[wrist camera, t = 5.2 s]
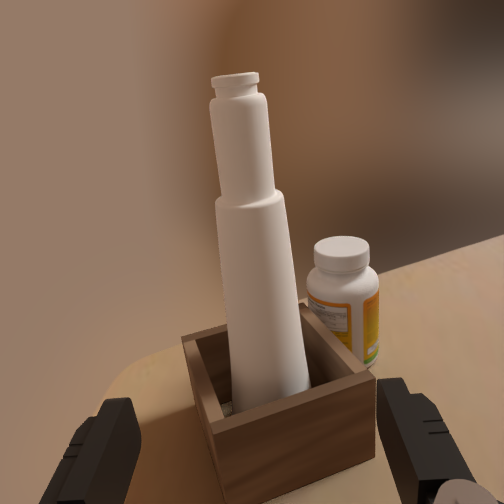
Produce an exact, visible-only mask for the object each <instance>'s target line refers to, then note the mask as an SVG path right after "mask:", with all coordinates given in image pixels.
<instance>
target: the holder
mask: <svg viewBox="0 0 504 504" xmlns="http://www.w3.org/2000/svg"><path fill="white" fill-rule="evenodd" d="M298 306H299V314H300V321H301V329H302V336H303V343H304V350H305V356H306V362H307V367H308V373H309V378H310V382H311V387H312V388H311V389H308V390H305V391H302V392H299V393H296V394H294V395H291V396H288V397H285V398H282V399H279V400H276V401H273V402H270V403H267V404H264V405H261V406H258V407H256V408H253V409H250V410H247V411H244V412H241V413H238V414H235V415H232V416H229V417H226V418H225V417H224V415H223V412H222V410H221V407H220V404H222V403H225V402H228V401H231V400H232V379H231V362H230V350H229V339H228V329H227V324H225V325H221V326H218V327H214V328H211V329H207V330H204V331H200V332H196V333H193V334H189V335H186V336H182V337H181V339H182V344H183V348H184V353H185V358H186V362H187V367H188V372H189V376H190V381H191V386H192V390H193V395H194V400H195V404H196V408H197V411H198V414H199V418H200V421H201V424H202V427H203V431H204V434H205V437H206V440H207V444H208V447H209V450H210V454H211V457H212V460H213V463H214V467H215V470H216V473H217V476H218V480H219V483H220V486H221V490H222V493H223V496H224V499H225V503H226V504H260V503H263V502H265V501H268V500H270V499H273V498H275V497H278V496H280V495H283V494H285V493H287V492H290V491H292V490H295V489H297V488H300V487H302V486H305V485H307V484H310V483H312V482H315V481H317V480H319V479H322V478H324V477H327V476H329V475H332V474H334V473H337V472H339V471H342V470H344V469H347V468H349V467H351V466H354V465H356V464H359V463H361V462H364V461H366V460H369V459H371V458H374V457H375V405H376V378H375V377H374V376H373V375H372V374H371V372H370V371H369V370H368V369H367V368H366V367H365V366H364V365H363V364H362V363H361V362H360V361H359V360H358V359H357V358H356V357H355V356H354V355H353V354H352V353H351V352H350V351H349V350H348V349H347V348H346V347H345V345H344V344H343V343H342V342H341V341H340V340H339V339H338V338H337V337H336V336H335V335H334V334H333V333H332V332H331V331H330V330H329V329H328V328H327V327H326V326H325V325H324V324H323V323H322V322H321V321H320V319H319V318H318V317H317V316H316V315H315V314H314V313H313V312H312V311H311V310H310V309H309V308H308V307H307V306H306V305H305V304H304V303H299V304H298Z"/></svg>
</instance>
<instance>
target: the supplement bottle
mask: <svg viewBox="0 0 504 504" xmlns="http://www.w3.org/2000/svg"><path fill="white" fill-rule="evenodd" d="M369 259H370V256H369V245H368V243H367V242H366V241H365V240H363V239H360V238H357V237H351V236H338V237H330V238H326V239H323V240H321V241H319V242H318V243H317V244H315V246H314V262H315V266H316V267H315V268H314V269H312V270H311V272H310V273H309V275H308V277H307V295H308V308H309V309H310V310H311V311H312V312H313V313H314V314H315V315H316V316H317V317H318V318H319V319H320V321H321V322H322V323H323V324H324V325H325V326H326V327H327V328H328V329H329V330H330V331H331V332H332V333H333V334H334V335H335V336H336V337H337V338H338V339H339V340H340V341H341V342H342V343H343V344H344V345H345V347H346V348H347V349H348V350H349V351H350V352H351V353H352V354H353V355H354V356H355V357H356V358H357V359H358V360H359V361H360V362H361V363H362V364H363V365H364V366H365V367H366V368H368V367H370V366H371V365H372V364H373V363H374V362H375V361H376V359H377V356H378V341H379V340H378V329H379V280H378V276H377V274H376V273H375V271H374V270H373V269H372V268H370V267H369V266H368V264H369Z"/></svg>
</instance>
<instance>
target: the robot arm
mask: <svg viewBox="0 0 504 504" xmlns="http://www.w3.org/2000/svg"><path fill="white" fill-rule="evenodd" d="M376 418H377V426H378V431H379V435H380V439H381V442H382V445H383V448H384V451H385V454H386V457H387V460H388V463H389V466H390V469H391V472H392V475H393V478H394V481H395V484H396V487H397V490H398V493H399V496H400V499H401V502H402V504H504V503H502V502H500V501H498V500H496V499H495V498H494V496H493V495H492V494H491V493H490V492H489V491H488V490H486V489H485V488H484V487H482V486H481V485H479V484H477V482H476V481H475V479H474V477H473V476H472V474H471V472H470V470H469V468H468V466H467V464H466V462H465V460H464V459H463V457H462V455H461V453H460V451H459V449H458V447H457V445H456V443H455V441H454V440H453V438H452V436H451V434H449V430H448V428H447V426H446V424H445V422H443V419H442V417H441V415H440V413H439V411H438V409H437V407H436V405H435V404H434V403H432V402H431V401H430V400H429V399H428V398H427V397H426V396H425V395H423V394H422V393H418V394H410V393H409V391H408V389H407V386H406V384H405V382H404V380H403V379H402V378H401V377H400V378H387V379H378V380H377V395H376ZM140 449H141V432H140V428H139V425H138V421H137V418H136V414H135V411H134V407H133V404H132V401H131V399H130V398H129V397H127V398H113V399H106V400H105V401H104V402H103V404H102V406H101V408H100V410H99V412H98V414H97V416H95V417H89V418H88V419H87V420H86V421H85V422H84V423H83V424H82V425H81V426H80V427H79V428H78V429H77V430H76V432H75V434H74V436H73V438H72V440H71V442H70V444H69V447H68V448H67V449H66V452H65V454H64V455H63V459H62V460H61V461H60V463H59V465H58V467H57V469H56V471H55V473H54V475H53V477H52V479H51V481H50V483H49V485H48V487H47V489H46V491H45V493H44V494H43V496H42V498H41V501H40V502H39V504H124V501H125V497H126V494H127V491H128V488H129V485H130V481H131V478H132V475H133V472H134V469H135V466H136V462H137V459H138V456H139V453H140Z"/></svg>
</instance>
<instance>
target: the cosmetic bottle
mask: <svg viewBox="0 0 504 504" xmlns="http://www.w3.org/2000/svg"><path fill="white" fill-rule="evenodd" d="M258 82H259V75H258V73H255V72H250V73H241V74H233V75H224V76H217V77H214V78H212V79H211V83H212V88H215V92H216V98H214V99H212V100H211V101H210V105H209V110H210V117H211V123H212V131H213V137H214V145H215V152H216V159H217V165H218V173H219V180H220V187H221V194H222V196H220V197H219V198H218V199H217V200H216V202H215V209H216V220H217V233H218V243H219V253H220V263H221V273H222V282H223V291H224V301H225V310H226V318H227V329H228V339H229V350H230V362H231V379H232V415H235V414H238V413H241V412H244V411H247V410H250V409H253V408H256V407H258V406H261V405H264V404H267V403H270V402H273V401H276V400H279V399H282V398H285V397H288V396H291V395H294V394H296V393H299V392H302V391H305V390H308V389H311V388H312V387H311V382H310V378H309V373H308V367H307V362H306V356H305V350H304V343H303V336H302V329H301V321H300V314H299V306H298V298H297V291H296V283H295V275H294V267H293V259H292V252H291V244H290V237H289V230H288V223H287V216H286V210H285V203H284V197H283V194H282V193H281V192H280V191H279V190H276V189H275V186H274V175H273V164H272V153H271V142H270V131H269V120H268V110H267V100H266V97H265V96H264V94H262V93H258V92H257V83H258Z"/></svg>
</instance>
